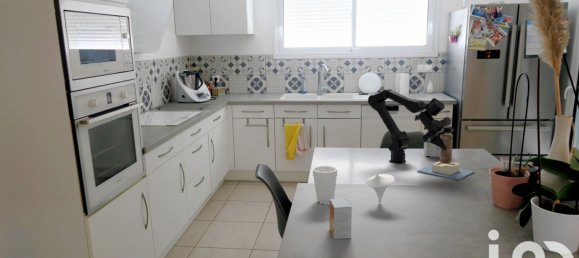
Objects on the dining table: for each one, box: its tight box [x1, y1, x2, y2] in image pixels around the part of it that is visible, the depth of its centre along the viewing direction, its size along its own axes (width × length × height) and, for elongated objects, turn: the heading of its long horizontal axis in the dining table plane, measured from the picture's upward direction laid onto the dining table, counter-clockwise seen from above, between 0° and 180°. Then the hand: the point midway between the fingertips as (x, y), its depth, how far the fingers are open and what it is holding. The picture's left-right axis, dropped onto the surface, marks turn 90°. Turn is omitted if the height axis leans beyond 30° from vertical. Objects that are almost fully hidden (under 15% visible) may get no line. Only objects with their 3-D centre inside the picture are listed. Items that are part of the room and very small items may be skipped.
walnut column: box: [439, 133, 454, 163], centre depth 197 cm, size 5×5×13 cm
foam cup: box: [312, 165, 338, 203], centre depth 164 cm, size 10×9×13 cm
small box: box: [329, 197, 353, 240], centre depth 135 cm, size 8×6×10 cm
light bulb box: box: [423, 138, 441, 158], centre depth 229 cm, size 11×7×11 cm, turn 84°
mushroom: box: [365, 173, 396, 204], centre depth 160 cm, size 10×11×12 cm
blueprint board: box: [417, 160, 475, 181], centre depth 199 cm, size 20×16×4 cm
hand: (449, 148), depth 196 cm, fingers closed on walnut column, 5 cm apart
